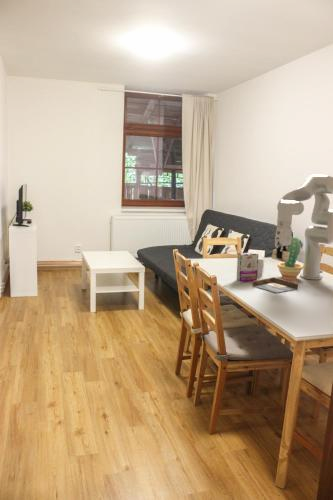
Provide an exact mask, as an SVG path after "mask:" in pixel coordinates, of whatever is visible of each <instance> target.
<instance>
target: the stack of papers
mask: <svg viewBox="0 0 333 500" xmlns="http://www.w3.org/2000/svg"><path fill="white" fill-rule="evenodd" d="M247 253H257V254H258V270H257V277H263V273H264V266H265V253H266V250H261V249H259V250H258V249H250V248H249V249H248V251H247Z"/></svg>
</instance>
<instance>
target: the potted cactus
mask: <svg viewBox="0 0 333 500" xmlns="http://www.w3.org/2000/svg"><path fill="white" fill-rule="evenodd" d="M303 247H304V242H303V241H302V240H301V239H299V238H298V237H295V236H292V242H291V245H289V247H288V250H287V252H290V255H289V260H288V261H287V262H278V263H277V264H276V266H277V268H278V271H279V273H280V275H281V279H283V280H288V281H289V280H290V281H294V280H295V281H296V280H297V279H298V276H300V274H301V272H302V271H303V265H304V264H300V263H296V261H297V259H298V256H299V255H300V253H301V250H302V249H303Z"/></svg>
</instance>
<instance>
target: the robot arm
mask: <svg viewBox="0 0 333 500" xmlns="http://www.w3.org/2000/svg"><path fill="white" fill-rule="evenodd" d="M328 194H329V195H333V176H331V175H327V174H326V175H325V174H312V175H310V176H308V177H307V178H306V180H305V181H304V182H302V184H301V185H300V186H299V187H298V188H295V189H293V190H291V191H288V192H287V193H285V194H283V196H282V197H281V198H280V200H279V201H278V202H277V205H276V209H277V219H276V231H275V237H274V247H275V249H276V251H277V256H276V258H279V259H282V250H283V251H286V252H287V250H288V247H289V245H291V242H292V238H293V235H292V234H293V230H292V221H293V216H299V215H301V214H303V212H304V210H305V206H304V203H303V202H304V201H308V200H310V199H312V197H313V196H314V205H313V209H312V213H311V218H310V219H311V223H313V224H315V225H309V226H307V227H306V228H305V230H304V241H305V242H304V243H305V244H304V245H305V246H304V254H303V256H304V257H303V264H302V265H303V269H302V273H299V277H300V278H302V279H307V280H315V281H316V280H322V275H320V274H323V273H324V271H323V269H320V268H321V258H322V257H321V256H322V247H321V245H320V244H325V245H331V244H333V209H329V208H330V204H331V203H330V202H331V201H330V198H329V196H328ZM319 225H320V226H319ZM323 226H324V227H323ZM325 226H326V227H325Z"/></svg>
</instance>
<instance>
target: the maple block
mask: <svg viewBox="0 0 333 500" xmlns="http://www.w3.org/2000/svg"><path fill="white" fill-rule="evenodd" d="M289 255H290V252H286V251H283V249H282V259H279V258H276V256H277V251H276V248H275V249H273V250H272V256H271V259H273V260H277V261H279V262H281V263H283V262H287V261H288V260H289Z"/></svg>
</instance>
